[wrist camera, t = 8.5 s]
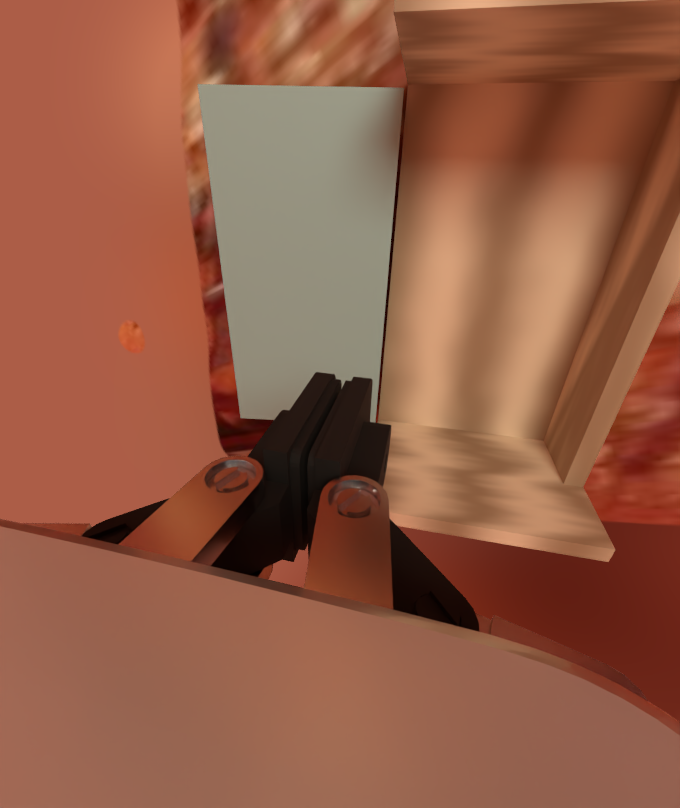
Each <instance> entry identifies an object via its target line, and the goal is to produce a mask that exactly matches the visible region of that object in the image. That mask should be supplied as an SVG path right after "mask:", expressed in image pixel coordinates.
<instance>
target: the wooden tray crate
mask: <svg viewBox="0 0 680 808" xmlns="http://www.w3.org/2000/svg"><path fill="white" fill-rule="evenodd" d="M394 16H395V21H396V26H397V31H398V36H399V41H400V46H401V51H402V56H403V61H404V66H405V71H406V77H407V82H408V91H407V102H406V114H405V125H404V136H403V147H402V158H401V170H400V181H399V192H398V203H397V214H396V226H395V237H394V248H393V259H392V270H391V282H390V293H389V304H388V315H387V326H386V338H385V349H384V360H383V371H382V382H381V393H380V405H379V416H378V423H381V424H388V425H391V437H390V447H389V455H388V462H387V469H386V475H385V480H384V485H383V488H384V490H385V491H386V492H387V496H388V499H389V518H390V519H391V520H392V521H393V522H394V524H395V525H396V526H402V527H408V528H413V529H419V530H425V531H431V532H437V533H443V534H449V535H455V536H461V537H466V538H472V539H478V540H484V541H489V542H495V543H502V544H507V545H513V546H519V547H524V548H530V549H536V550H543V551H549V552H554V553H559V554H565V555H571V556H577V557H583V558H589V559H594V560H600V561H606V562H609V559H610V558H611V556H612V555H613V553H614V551H615V548H614V546H613V544H612V542H611V540H610V539H609V536H608V535H607V533H606V531H605V529H604V527H603V525H602V523H601V521H600V519H599V517H598V515H597V513H596V511H595V509H594V507H593V505H592V503H591V501H590V499H589V498H588V496H587V494H586V492H585V490H584V488H583V486H584V484H585V482H586V480H587V478H588V476H589V473H590V471H591V469H592V467H593V465H594V463H595V461H596V458H597V456H598V454H599V452H600V450H601V448H602V445H603V443H604V441H605V439H606V437H607V435H608V433H609V430H610V428H611V426H612V424H613V422H614V420H615V418H616V415H617V413H618V411H619V409H620V407H621V405H622V403H623V400H624V398H625V396H626V394H627V392H628V390H629V387H630V385H631V383H632V381H633V379H634V377H635V375H636V372H637V370H638V368H639V366H640V364H641V362H642V360H643V357H644V355H645V353H646V351H647V349H648V347H649V344H650V342H651V340H652V338H653V336H654V334H655V332H656V329H657V327H658V325H659V323H660V321H661V319H662V317H663V314H664V312H665V310H666V308H667V306H668V304H669V301H670V299H671V297H672V295H673V293H674V291H675V289H676V286H677V284H678V282H679V280H680V0H394Z"/></svg>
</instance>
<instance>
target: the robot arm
mask: <svg viewBox="0 0 680 808" xmlns="http://www.w3.org/2000/svg"><path fill="white" fill-rule="evenodd" d="M372 384H373V380H372V379H371V378H362V377H353V378H352V380H351V381H347V380H346V381H345V383H344V385H343V387H342V382H341V380H339V379H336V377H335V374H329V373H321V372H316V373H315V374H314V375H313V377H312V378H311V380H310V381H309V383H308V384H307V386H306V387H305V388H304V390H303V391H302V393H301V394H300V396H299V397H298V399H297V400H296V401H295V403H294V404H293V406H292V407H291V409H290V410H282V411H281V412H280V413H279V414H278V416H277V417H276V418H275V420H274V421H273V422H272V424H271V425H270V427H269V428H268V429H267V431H266V432H265V433H264V435H263V436H262V438H261V439H260V440H259V442H258V443H257V444H256V446H255V447H254V449H253V450H252V451H251V453H250V454H249V455H248V457H246V456H228V457H224V458H220V459H218V460H215V461H213V462H211V463H210V464H209V465H207V466H206V467H204V468H203V469H202V470H201V471H200V472H199V473H198V474H196V475H195V476H194V477H193V478H192V479H191V480H190V481H189V482H187V483H186V484H185V485H184V486H183V487H182V488H181V489H180V490H179V491H177V492H176V493H175V494H174V495H173V496H172V497H171V498H169V499H166V500H163V501H160V502H157V503H154V504H151V505H148V506H145V507H143V508H139V509H137V510H134V511H131V512H128V513H125V514H122V515H119V516H116V517H113V518H110V519H108V520H105V521H103V522H101V523H99V524H96V525H95V526H93V527H91V525H90V524H67V523H66V524H64V523H62V524H61V523H56V524H55V523H18V522H13V521H8V520H3V519H0V808H680V722H679V721H678V720H676V719H675V718H673V717H672V716H671V715H669V714H668V713H666V712H665V711H663V710H661V709H660V708H658V707H656V706H654V705H653V704H651V703H650V702H648V700H647V699H646V697H645V696H644V695H643V693H642V692H641V690H640V689H639V688H638V687H636V686H635V685H634V684H633V683H632V682H631V681H630V680H629V679H628V678H627V677H626V676H625V675H623V674H622V673H620V672H618V671H617V670H615V669H613V668H612V667H610V666H608V665H607V664H604V663H602V662H600V661H597V660H595V659H593V658H591V657H588V656H586V655H584V654H581V653H579V652H577V651H574V650H572V649H570V648H568V647H565V646H563V645H561V644H559V643H556V642H554V641H552V640H550V639H547V638H545V637H543V636H540V635H538V634H536V633H534V632H531V631H529V630H527V629H525V628H522V627H520V626H518V625H515V624H513V623H511V622H509V621H506V620H504V619H502V618H499V617H497V616H495V615H494V616H493V618H492V620H489V619H488V618H485V617H483V616H481V615H478V614H476V613H475V612H474V610H473V608H472V607H471V605H470V604H469V603H468V601H467V600H466V598H465V597H463V595H462V594H461V593H460V592H459V591H458V590H457V589H456V588H455V587H454V586H453V585H452V584H451V583H450V582H449V581H448V580H447V579H446V577H445V576H444V575H443V574H442V573H441V572H440V571H439V570H438V569H437V568H436V567H435V566H434V565H433V564H432V563H431V562H430V560H429V559H428V558H427V557H426V556H425V555H424V554H423V553H422V552H421V551H420V550H419V549H418V548H417V547H416V546H415V545H414V544H413V543H412V542H411V540H410V539H409V538H408V537H407V536H406V535H405V534H404V533H403V532H402V531H401V530H400V529H399V528H398V527H397V526H396V525H395V524H394V522H393V521H392V520H391V519H390V518H389V499H388V496H387V492H386V491H385V490H384V488H383V485H384V480H385V475H386V469H387V462H388V455H389V447H390V437H391V425H388V424H381V423H374V422H370V413H371V399H372ZM307 544H308V554H309V562H308V568H307V573H306V579H305V584H304V588H300V587H297V586H292V585H288V584H284V583H280V582H275V581H271V580H268V579H269V577H270V575H271V573H272V568H273V563H276V562H278V561H280V560H282V559H283V560H287V561H291V562H294V559H295V557H296V554H297V552H298V550H299V549H300V550H305V549H306V547H307Z"/></svg>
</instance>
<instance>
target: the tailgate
mask: <svg viewBox="0 0 680 808" xmlns="http://www.w3.org/2000/svg"><path fill="white" fill-rule="evenodd" d="M198 91H199V99H200V106H201V114H202V122H203V130H204V137H205V145H206V153H207V161H208V168H209V176H210V184H211V192H212V199H213V207H214V215H215V223H216V230H217V238H218V246H219V254H220V262H221V269H222V277H223V285H224V293H225V300H226V308H227V316H228V324H229V331H230V339H231V347H232V355H233V362H234V370H235V378H236V386H237V393H238V401H239V409H240V417H241V418H249V419H267V420H275V418H276V417H277V416H278V414H279V413H280V412H281V411H282V410H290V409H291V407H292V406H293V404H294V403H295V401H296V400H297V399H298V397H299V396H300V394H301V393H302V391H303V390H304V388H305V387H306V386H307V384H308V383H309V381H310V380H311V378H312V377H313V375H314V374H315V373H316V372H321V373H329V374H335V377H336V379H339V380H341V382H342V387H343V385H344V383H345V381H346V380H347V381H351V380H352V378H353V377H362V378H371V379H372V380H373V384H372V399H371V413H370V422H374V423H375V422H376V410H377V399H378V387H379V375H380V364H381V352H382V340H383V328H384V317H385V305H386V293H387V282H388V270H389V258H390V246H391V235H392V223H393V211H394V200H395V188H396V176H397V165H398V153H399V141H400V129H401V118H402V106H403V94H404V88H381V87H324V86H267V85H210V84H198Z"/></svg>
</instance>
